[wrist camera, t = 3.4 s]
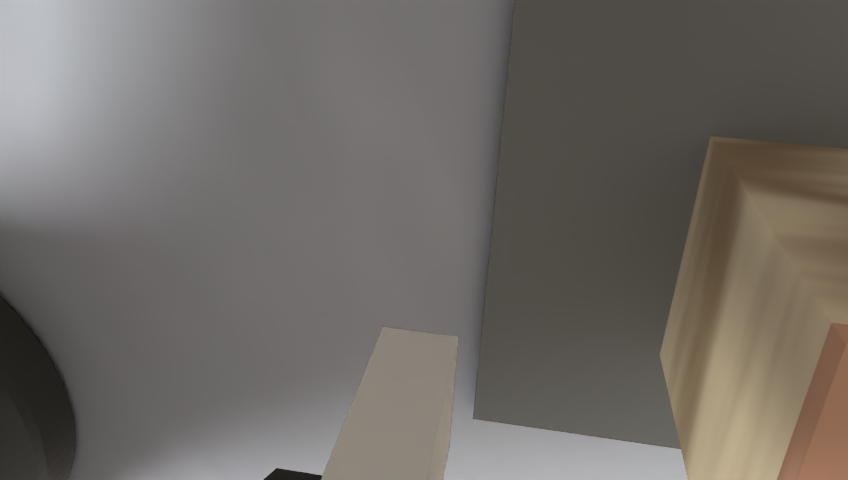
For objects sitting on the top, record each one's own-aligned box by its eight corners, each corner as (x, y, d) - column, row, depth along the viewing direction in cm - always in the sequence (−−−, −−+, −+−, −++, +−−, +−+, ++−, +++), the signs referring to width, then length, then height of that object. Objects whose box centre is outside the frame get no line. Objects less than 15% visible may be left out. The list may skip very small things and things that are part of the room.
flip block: (659, 354, 22) (730, 662, 13) (710, 135, 19) (845, 344, 10) (831, 377, 22) (1026, 715, 13) (912, 154, 18) (1244, 395, 10)
